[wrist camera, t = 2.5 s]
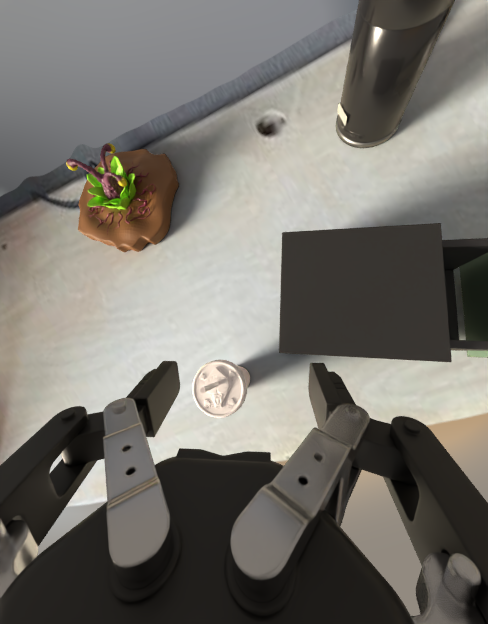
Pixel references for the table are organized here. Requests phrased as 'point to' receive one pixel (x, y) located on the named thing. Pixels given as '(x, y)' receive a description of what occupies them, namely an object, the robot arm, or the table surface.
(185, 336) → the table surface
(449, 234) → the table surface
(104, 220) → the plant
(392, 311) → the cabinet
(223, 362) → the smoothie
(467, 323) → the drawer
